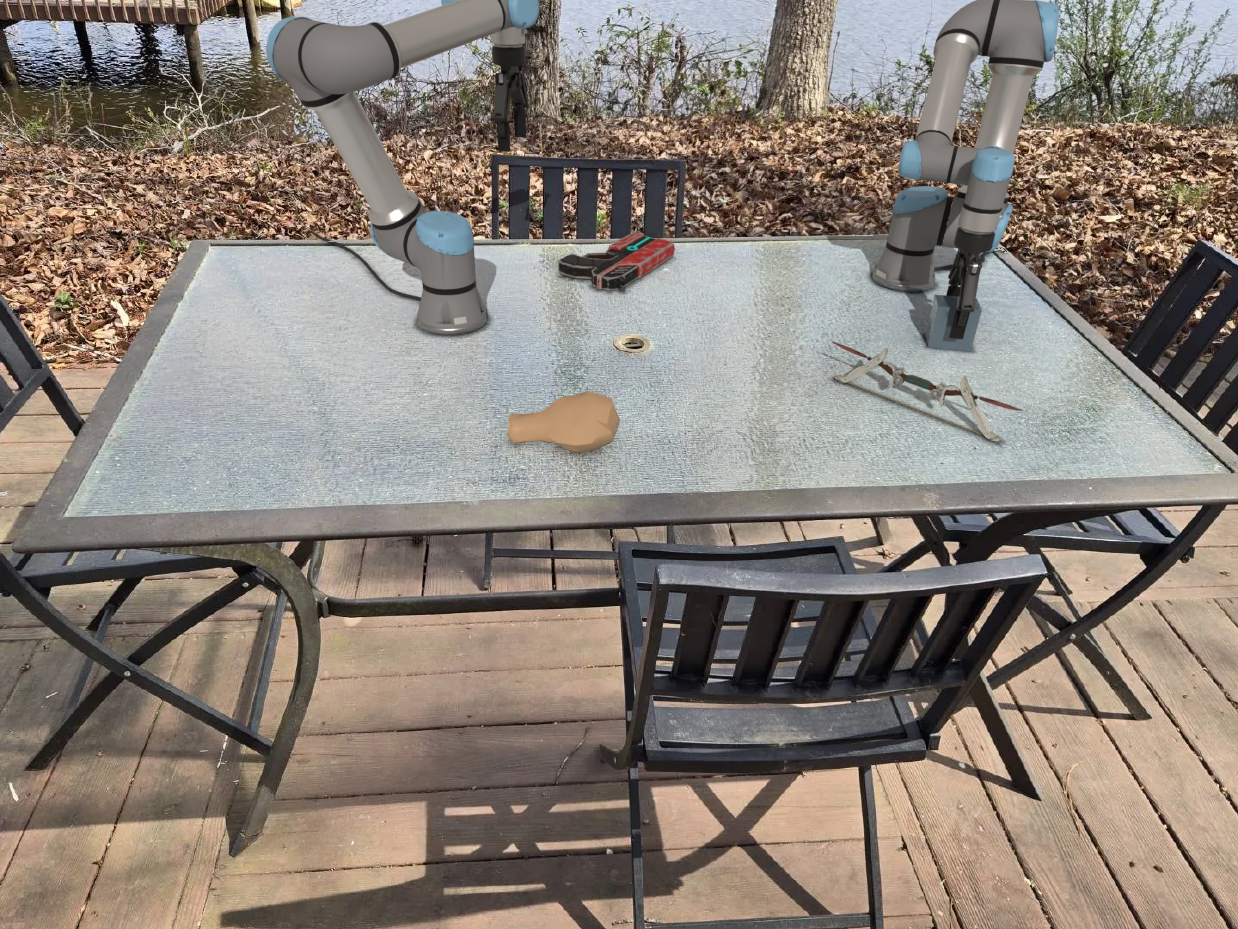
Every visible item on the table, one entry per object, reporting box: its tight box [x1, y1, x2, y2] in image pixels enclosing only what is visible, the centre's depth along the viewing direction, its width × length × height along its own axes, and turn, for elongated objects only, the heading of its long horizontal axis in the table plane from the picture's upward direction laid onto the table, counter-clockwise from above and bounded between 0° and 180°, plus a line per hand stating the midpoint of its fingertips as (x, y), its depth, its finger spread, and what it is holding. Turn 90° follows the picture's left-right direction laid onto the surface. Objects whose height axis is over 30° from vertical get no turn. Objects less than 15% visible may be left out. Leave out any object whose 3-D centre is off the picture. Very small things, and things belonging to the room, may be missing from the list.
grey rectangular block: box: [925, 294, 983, 352], centre depth 192 cm, size 7×9×10 cm
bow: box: [831, 341, 1023, 443], centre depth 166 cm, size 39×2×10 cm, turn 47°
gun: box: [557, 232, 676, 292], centre depth 225 cm, size 4×31×19 cm
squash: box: [506, 390, 621, 453], centre depth 154 cm, size 11×20×9 cm, turn 90°
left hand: (512, 143), depth 207 cm, fingers open, 13 cm apart
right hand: (951, 325), depth 192 cm, fingers open, 12 cm apart
